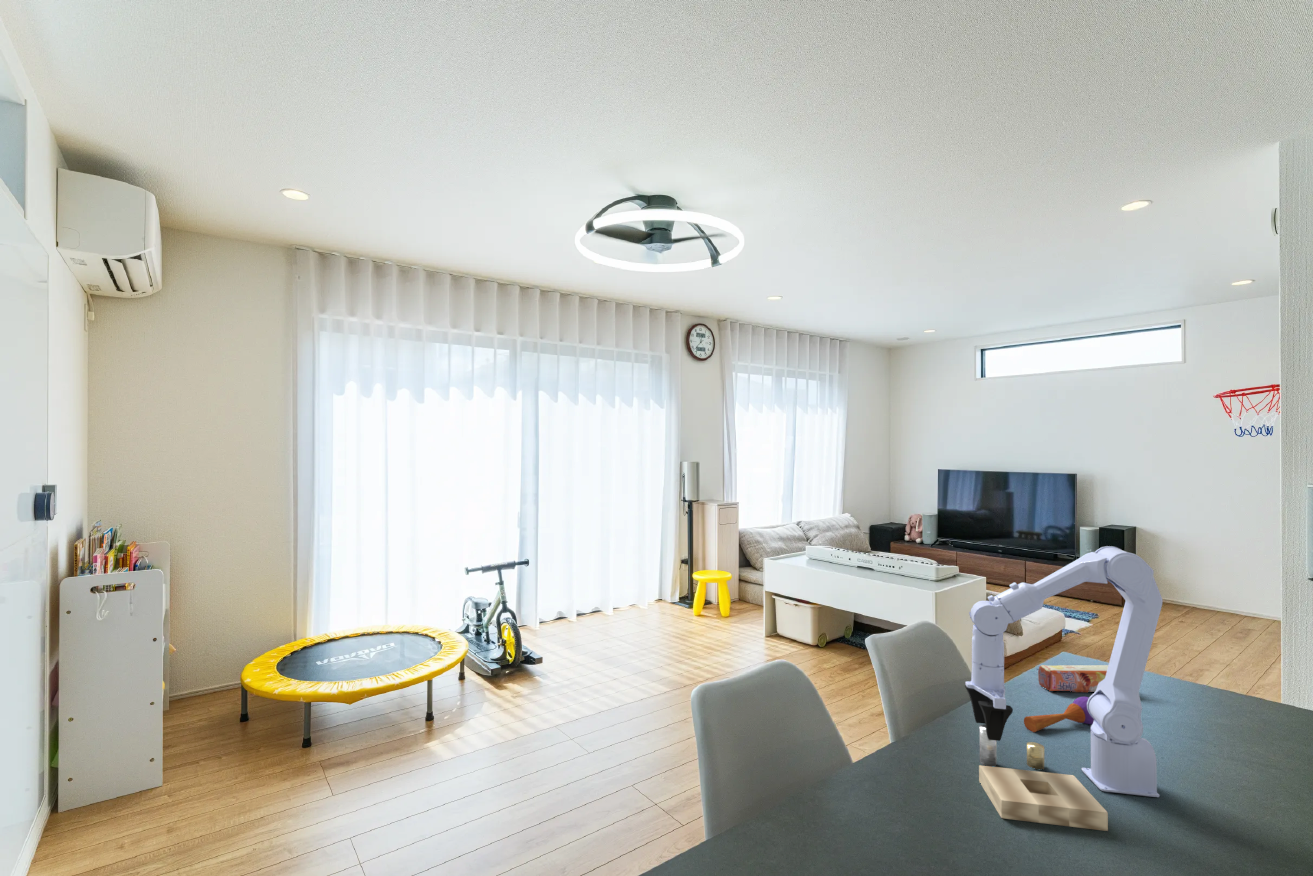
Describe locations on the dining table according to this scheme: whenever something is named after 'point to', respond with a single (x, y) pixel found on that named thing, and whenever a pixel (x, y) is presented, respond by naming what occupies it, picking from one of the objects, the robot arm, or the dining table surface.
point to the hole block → (1042, 798)
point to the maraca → (1061, 716)
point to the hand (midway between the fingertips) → (987, 730)
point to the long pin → (987, 748)
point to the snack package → (1071, 677)
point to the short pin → (1035, 755)
